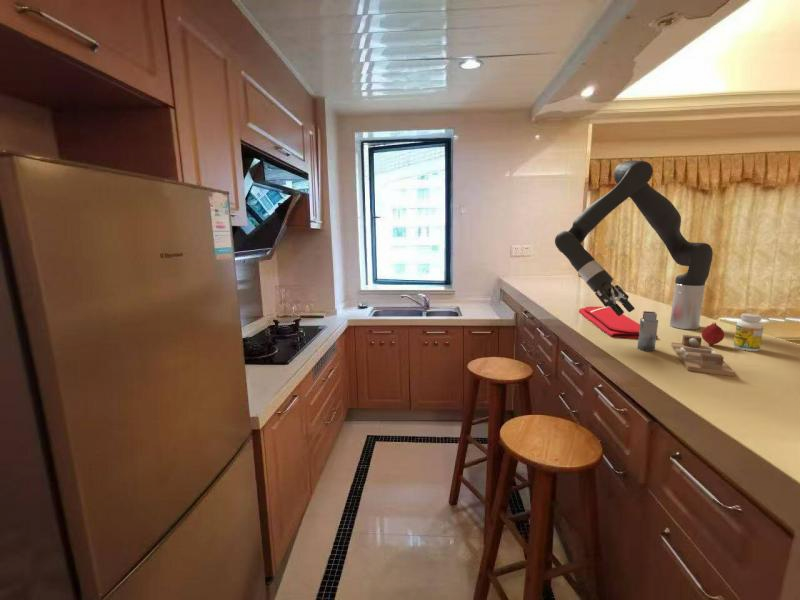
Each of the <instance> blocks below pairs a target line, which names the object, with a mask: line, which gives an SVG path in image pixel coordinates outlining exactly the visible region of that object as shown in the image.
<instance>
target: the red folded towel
mask: <svg viewBox="0 0 800 600" xmlns="http://www.w3.org/2000/svg"><path fill="white" fill-rule="evenodd" d="M578 312H579V314H580V315H581V314H582V316H583V318H585V319H586V320H587V319H588V320H587V321H589V322H590V323H591V322H592V325H594V326H595V327H596V328H598V329H599V328H600V329H599V330H601V331H602V332H603V331H604V332H603V333H605V334H606V333H607V334H606V335H608V336H609V337H611V338H612V337H625V338H624V339H638V337H639V328H640V322H639V323H638V322H637V321H635V320H633V319H632V318H630V317H628V316H626V315H625V314H624V313H623V314H622V315H620V316H618V315H617V314H616V313H615V312H614V311H613V310H612V308H611V307H608V306H607V307H606V306H585V307H584V308H583V307H582V308H579V309H578ZM626 337H627V338H626ZM658 338H659V336H658V334H657V335H656V339H658Z"/></svg>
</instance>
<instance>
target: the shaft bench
mask: <svg viewBox="0 0 800 600" xmlns="http://www.w3.org/2000/svg"><path fill="white" fill-rule="evenodd" d="M702 339H703V338H702V336H700V335H699V336H698V335H691V334H690V335H688V334H682V341H681V342H671V343H670V344H671V345H670V346H671V347H672V350H673V351H674V352H675V354H676V355H677V357H678V358H679V359H680V361H681V362H682V364H683V366H684V367H685V368H686V370H687V371H689V372H694V373H696V372H697V373H703V374H711V375H719V376H720V375H721V376H728V377H735V374H736V373H735V372H736V371H734V370H733V369H732V368H731V367H730V366H729V364H727V363H726V362H725V360H724V356H723V355H722V354H719V353H717V352H716V351H715V350H714V349H713V348H712V347H711V345H702Z"/></svg>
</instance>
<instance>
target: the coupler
mask: <svg viewBox="0 0 800 600" xmlns="http://www.w3.org/2000/svg"><path fill="white" fill-rule="evenodd" d="M657 315H658V314H657V313H656V312H655V311H647V310H644V311H643V312H642V317H641V318H640V321H639V324H640V328H639V337H638V338H637V350H639V349H640V351H642V350H644V352H654V351H655V350H656V345H657V344H656V343H657V342H656V341H657V338H656V335H657V336H658V327H659V324H658V323H659V320H658V319H657V318H658V317H657Z"/></svg>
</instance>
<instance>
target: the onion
mask: <svg viewBox="0 0 800 600" xmlns="http://www.w3.org/2000/svg"><path fill="white" fill-rule="evenodd" d="M700 334H701V338H702V339H703V341H704V342H705V343H706V344H708V346H713V345H716V344H719V343H721V341H722V340H724V338H725V332H724V330H723V328H721V327H720V326H719V325H718V324H717V322H715V321H713V322H711V324H710V325H707V326H705V327H704V328H703V329H702V330H701V333H700Z"/></svg>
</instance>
